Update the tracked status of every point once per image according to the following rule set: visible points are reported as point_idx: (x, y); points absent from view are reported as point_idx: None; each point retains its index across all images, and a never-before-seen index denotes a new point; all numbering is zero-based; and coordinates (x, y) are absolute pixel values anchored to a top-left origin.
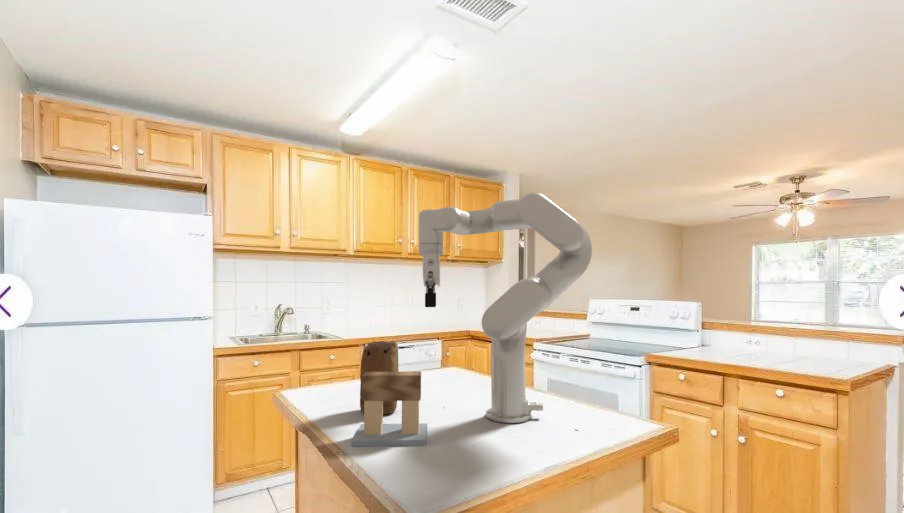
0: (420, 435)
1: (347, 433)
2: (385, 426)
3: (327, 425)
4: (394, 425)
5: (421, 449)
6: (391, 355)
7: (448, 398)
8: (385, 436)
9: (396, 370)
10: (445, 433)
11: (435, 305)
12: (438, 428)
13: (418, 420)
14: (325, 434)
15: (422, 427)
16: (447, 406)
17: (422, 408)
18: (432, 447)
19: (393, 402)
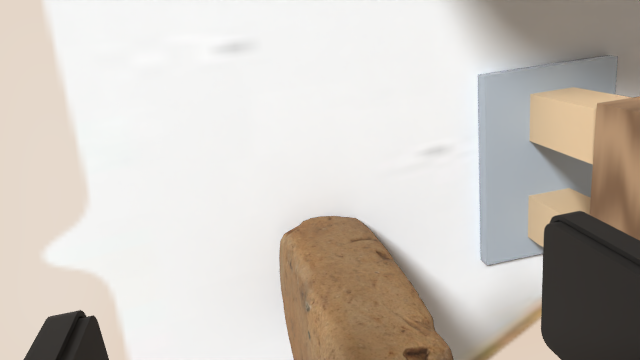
0: (584, 78)
1: (512, 279)
2: (508, 194)
3: (452, 350)
4: (500, 172)
5: (630, 63)
6: (432, 329)
7: (88, 42)
8: (584, 171)
9: (361, 277)
10: (522, 10)
11: (586, 219)
12: (479, 38)
13: (593, 92)
14: (516, 325)
15: (521, 85)
16: (222, 34)
17: (263, 130)
18: (621, 36)
19: (365, 226)
